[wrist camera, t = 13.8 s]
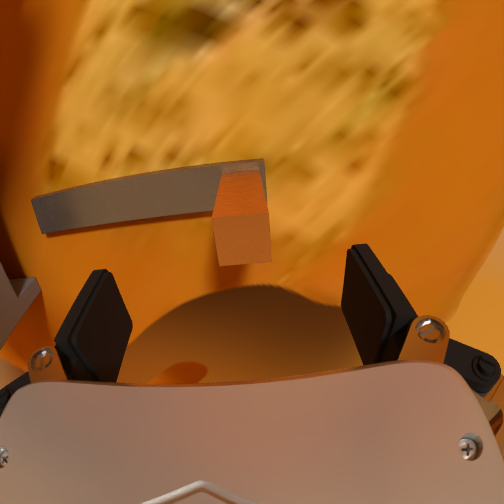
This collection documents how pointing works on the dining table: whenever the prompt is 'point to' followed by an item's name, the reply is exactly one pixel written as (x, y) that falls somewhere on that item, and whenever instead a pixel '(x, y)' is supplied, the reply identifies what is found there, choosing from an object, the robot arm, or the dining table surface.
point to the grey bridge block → (14, 301)
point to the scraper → (174, 204)
